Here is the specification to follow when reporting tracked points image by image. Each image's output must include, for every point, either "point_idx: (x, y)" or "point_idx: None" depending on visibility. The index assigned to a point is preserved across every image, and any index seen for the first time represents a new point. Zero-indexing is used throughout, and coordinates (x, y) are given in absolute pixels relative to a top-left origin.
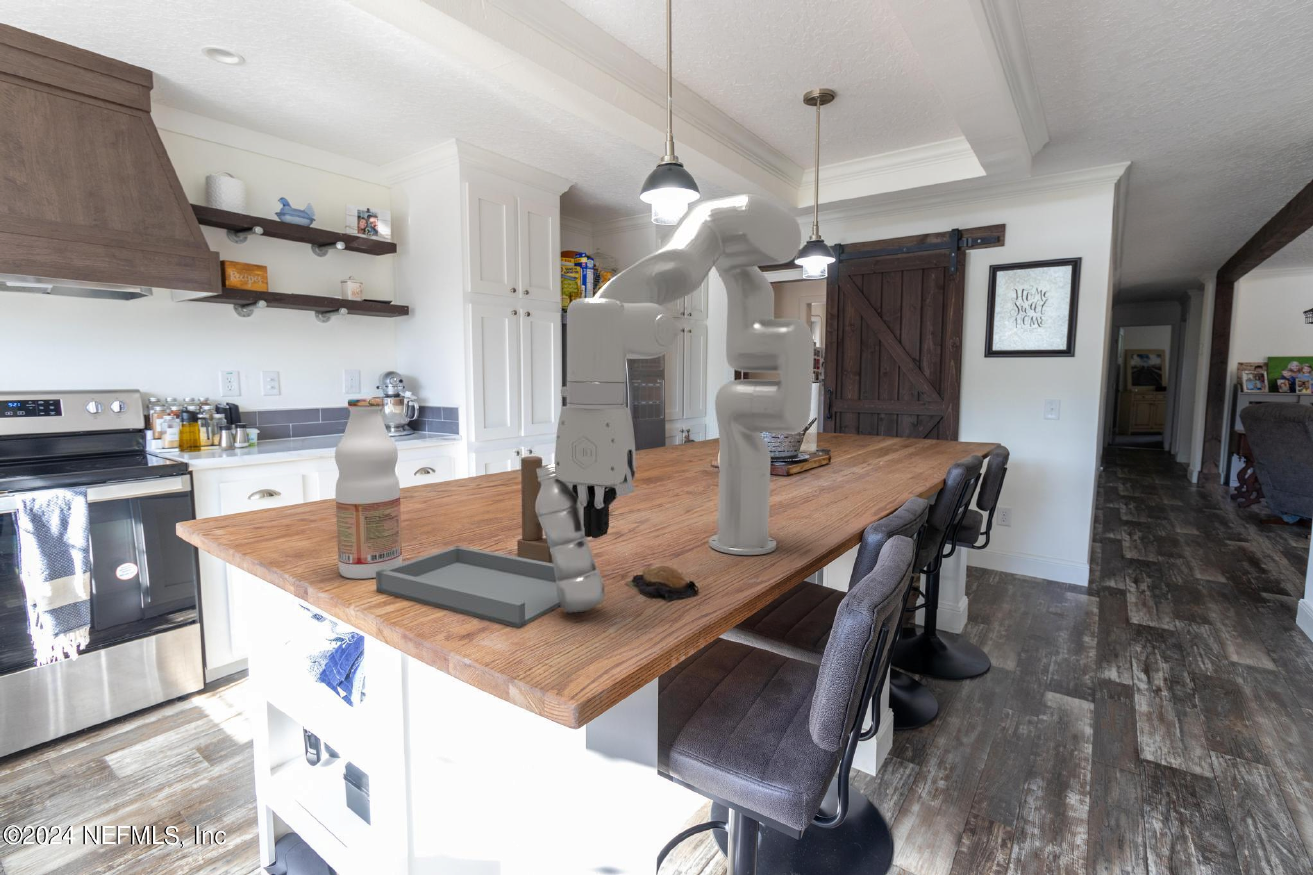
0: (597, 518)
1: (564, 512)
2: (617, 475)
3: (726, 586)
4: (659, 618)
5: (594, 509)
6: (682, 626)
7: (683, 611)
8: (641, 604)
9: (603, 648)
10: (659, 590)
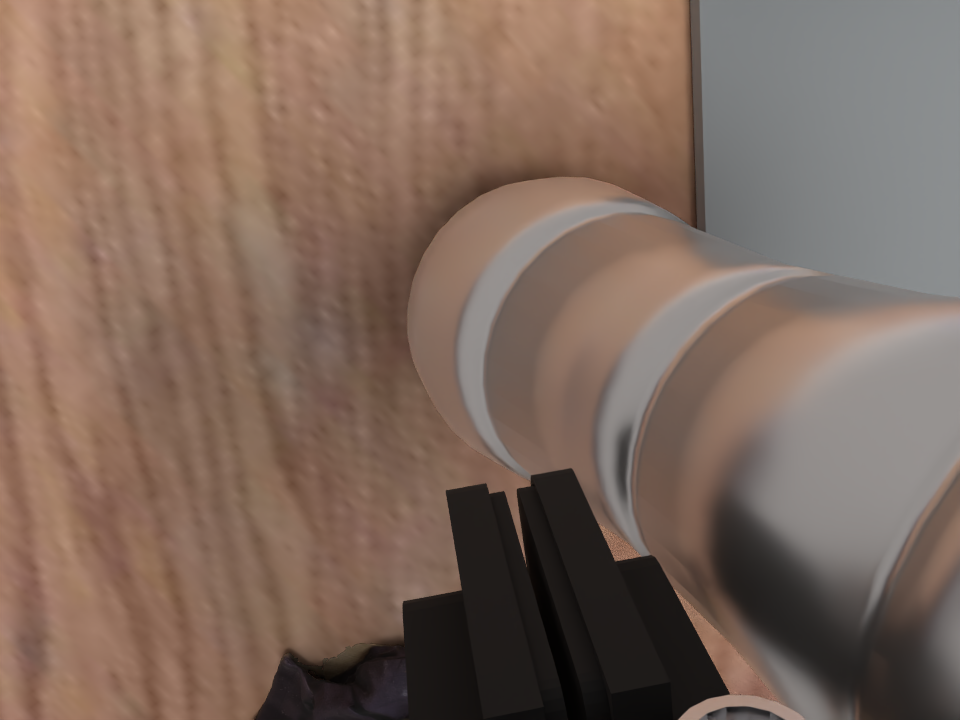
0: (472, 662)
1: (911, 483)
2: None
3: None
4: (175, 489)
5: (483, 706)
6: (16, 485)
7: (146, 619)
8: (369, 561)
9: (118, 20)
10: (348, 692)
